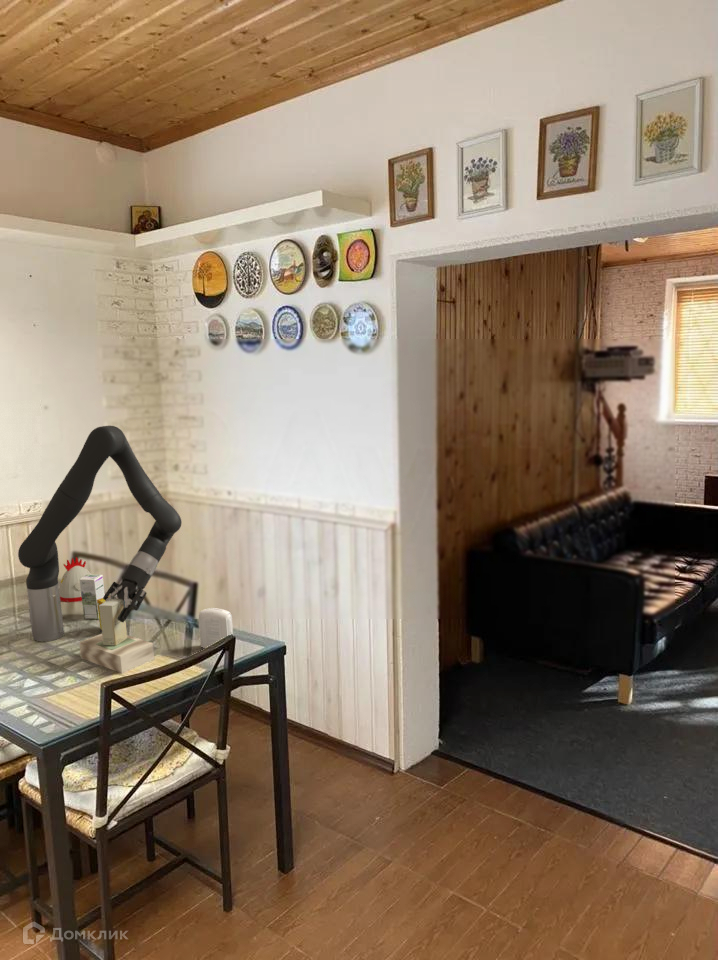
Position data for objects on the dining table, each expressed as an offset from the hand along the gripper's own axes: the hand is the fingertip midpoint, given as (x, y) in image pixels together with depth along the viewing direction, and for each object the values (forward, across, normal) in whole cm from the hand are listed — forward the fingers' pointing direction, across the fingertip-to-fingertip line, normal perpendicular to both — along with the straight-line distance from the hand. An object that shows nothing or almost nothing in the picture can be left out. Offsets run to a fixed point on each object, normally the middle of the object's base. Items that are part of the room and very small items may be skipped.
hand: (111, 618), depth 209 cm
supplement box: (0, -21, +19) cm, 28 cm away
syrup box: (-4, -38, +22) cm, 44 cm away
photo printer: (-6, +20, +24) cm, 32 cm away
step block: (+9, 0, +9) cm, 13 cm away
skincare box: (+5, 0, +6) cm, 8 cm away
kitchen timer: (-11, -64, +29) cm, 72 cm away
